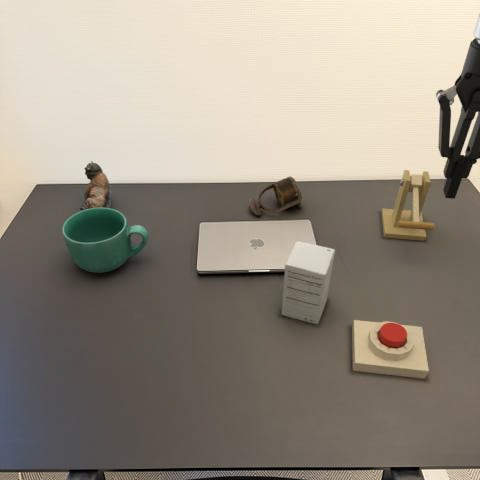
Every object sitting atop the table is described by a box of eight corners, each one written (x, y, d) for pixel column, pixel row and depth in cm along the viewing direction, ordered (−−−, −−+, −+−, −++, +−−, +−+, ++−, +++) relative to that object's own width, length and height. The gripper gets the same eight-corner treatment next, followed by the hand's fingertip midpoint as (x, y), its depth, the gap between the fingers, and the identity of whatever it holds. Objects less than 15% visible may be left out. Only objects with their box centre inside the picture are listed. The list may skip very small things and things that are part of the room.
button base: (418, 334, 85) (424, 319, 82) (425, 379, 78) (432, 364, 75) (351, 327, 86) (355, 312, 84) (352, 370, 80) (356, 355, 77)
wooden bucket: (307, 200, 106) (305, 169, 111) (251, 196, 105) (251, 165, 110) (301, 222, 112) (299, 192, 117) (248, 218, 111) (248, 188, 117)
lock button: (403, 330, 81) (406, 323, 80) (405, 350, 78) (408, 343, 77) (377, 328, 82) (379, 321, 80) (378, 347, 79) (381, 340, 77)
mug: (65, 278, 96) (51, 241, 89) (85, 241, 105) (74, 205, 98) (144, 284, 95) (136, 247, 88) (158, 246, 104) (152, 209, 97)
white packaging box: (291, 290, 93) (296, 239, 84) (327, 300, 92) (337, 248, 82) (279, 315, 89) (284, 264, 80) (317, 326, 87) (326, 274, 78)
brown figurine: (110, 224, 109) (101, 186, 102) (80, 226, 109) (68, 187, 102) (115, 197, 118) (107, 159, 110) (87, 198, 117) (76, 160, 110)
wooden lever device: (425, 241, 104) (442, 189, 95) (383, 237, 105) (397, 186, 96) (419, 215, 111) (436, 165, 102) (381, 212, 112) (393, 162, 103)
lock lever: (431, 233, 96) (435, 226, 94) (396, 230, 97) (399, 223, 95) (429, 183, 102) (433, 175, 99) (396, 181, 102) (399, 173, 100)
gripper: (543, 32, 65) (483, 184, 83) (446, 31, 67) (407, 181, 84) (561, 50, 60) (493, 208, 78) (456, 49, 62) (412, 204, 79)
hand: (448, 194), depth 81 cm, fingers closed
